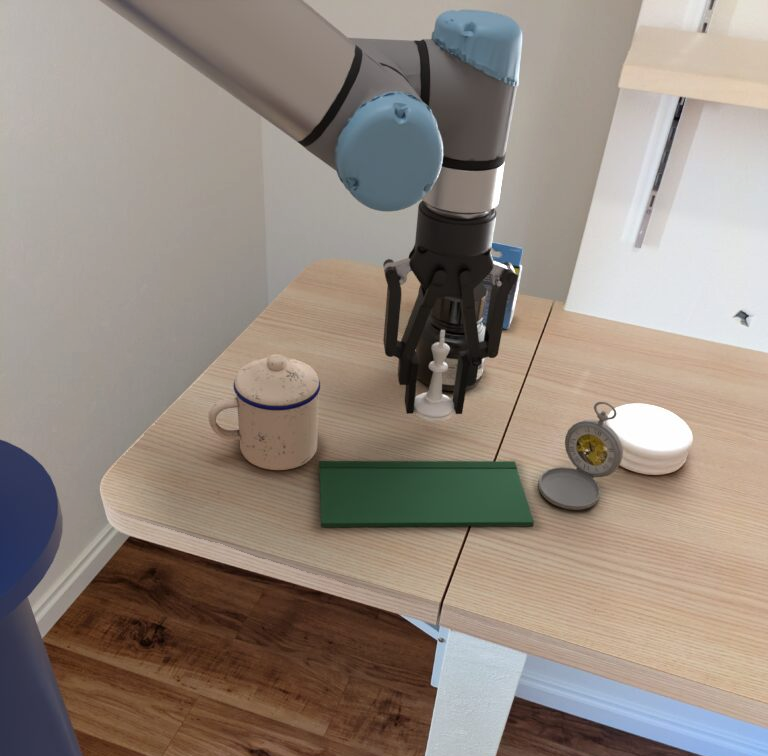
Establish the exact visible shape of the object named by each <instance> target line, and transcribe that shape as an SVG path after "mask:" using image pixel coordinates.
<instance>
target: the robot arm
mask: <svg viewBox="0 0 768 756" xmlns="http://www.w3.org/2000/svg"><path fill="white" fill-rule="evenodd" d="M98 1H100V2H101V4H104V5H105V6H106V7H108V8H109V9H110V10H112V11H113V12H115V13H116V14H117V15H119V16H120V17H122V19H124V20H126V21H127V22H129V23H130V24H132V25H133V26H134V27H136V28H137V29H139V30H140V31H141V32H143V33H144V34H146V35H147V36H148V37H149V38H151V39H153V40H154V41H156V42H157V43H158V44H160V45H161V46H162V47H164V48H165V49H167V50H168V51H169V52H171V53H172V54H173V55H175V56H176V57H178V58H179V59H181V60H182V61H183V62H184V63H186V64H187V65H189V66H190V67H192V68H193V69H195V71H197V72H199V73H200V74H202V75H203V76H204V77H206V78H207V79H208V80H210V81H211V82H213V83H214V84H215V85H217V86H218V87H219V88H222V89H223V90H224V91H225V92H226V93H228V94H229V95H230V96H232V97H234V98H235V99H237V100H238V101H239V102H240V103H242V104H243V105H245V106H246V107H248V108H249V109H250V110H252V111H253V112H255V113H256V114H258V115H259V116H260V117H262V118H263V119H264V120H266V121H267V122H268V123H270V124H271V125H273V126H274V127H276V128H277V129H279V130H280V131H281V132H283V133H284V134H285V135H287V136H288V137H290V138H291V139H293V140H294V141H295V142H296V143H298V144H299V145H300V146H302V147H303V148H304V149H306V151H308V152H309V153H310V154H312V155H313V156H315V157H316V158H318V159H319V160H320V161H321V162H323V163H324V164H325V165H327V166H329V167H330V168H331V169H333V170H334V171H336V175H337V177H338V179H339V181H340V182H341V183H342V184H343V186H344V188H345V189H346V190H347V191H348V192H349V194H350V195H351V196H352V197H353V198H354V199H355V200H357V202H359V203H360V204H362V205H363V206H365V207H367V208H369V209H371V210H375V211H379V212H398V211H401V210H406V209H408V208H410V207H412V206H414V205H415V204H417V203H418V207H417V216H416V217H417V219H416V227H415V229H416V230H415V240H414V245H413V247H412V249H411V251H410V252H409V254H408V257H407V258H403V259H399V260H396V261H394V259H391V258H388V259H385V260H384V261H383V264H382V265H383V266H382V267H383V272H384V277H385V281H386V284H387V289H386V301H385V312H384V313H385V314H384V325H383V326H384V328H383V339H382V342H383V348H384V354H385V356H386V357H389V358H393V357H395V358H397V359H398V362H397V363H398V364H397V380H398V383H399V386H405V390H404V405H405V413H406V414H407V415H409V414H410V415H413V414H414V412H413V411H414V402H415V397H416V391H417V383H418V377H417V374H418V359H417V354H416V348H417V345H418V343H419V340H420V337H421V335H422V332H423V330H424V327H425V325H426V322H427V319H428V317H429V314H430V312H431V309H432V308H433V307H434V305H435V303H436V300H437V298H445V297H452V298H456V299H460V303H461V310H462V318H463V325H464V333H465V340H466V348H467V353H466V352H463V351H459V357H458V364H457V371H456V378H455V385H454V391H452V392H453V393H452V398H451V400H452V401H453V403H454V414H455V415H463V412H464V405H465V399H466V392H467V391H466V390H467V389H466V386H473V387H474V386H475V385H474V384H475V383H476V378H477V372H478V366H480V365H481V364H482V359H483V358H485V359H486V358H489V359H495V358H496V357H498V355H499V351H500V346H501V345H500V344H501V339H502V334H503V329H504V328H503V322H504V316H505V310H506V304H507V298H508V294H509V292H510V290H511V289H512V287H513V285H514V283H515V281H516V279H517V275H516V273H515V271H514V268H513V266H512V264H511V263H510V262H505V263H503V264H501V263H499V262H496V261H494V260H493V258H492V256H493V255H492V249H491V247H492V242H494V234H495V228H496V221H497V215H498V213H497V210H496V208H497V206H498V205H499V202H500V197H501V189H502V183H503V175H504V169H505V163H506V162H505V161H506V153H507V147H508V140H509V134H510V130H511V124H512V118H513V113H514V106H515V101H516V95H517V91H518V87H519V85H520V69H521V60H522V51H523V50H522V48H523V47H522V46H523V31H522V28H521V26H520V24H519V23H518V22H517V21H516V20H514V19H513V18H512V17H510V16H508V15H505V14H502V13H498V12H493V11H489V10H488V11H487V10H480V9H460V10H453V9H452V10H446V11H443V12H441V13H440V14H439V15H438V16H437V17H436V19H435V23H434V29H433V31H432V32H431V38H423V39H420V40H408V39H407V40H406V39H405V40H403V39H386V38H385V39H384V38H361V37H348V36H346V34H344V33H343V32H342V31H340V30H339V28H337V27H336V26H334V25H333V24H332V23H331V22H329V20H327V19H326V18H325V17H324V16H323V15H321V14H320V13H319V12H318V11H316V10H315V9H314V8H313V7H312V6H310V4H308V3H307V2H306V1H304V0H98ZM410 272H412V273H413V274H414V276H415V278H416V279H417V281H418V282H419V284H420V285H419V288H418V291H417V292H418V294H417V296H416V300H415V302H414V304H413V308H412V310H411V313H410V316H409V318H408V321H407V323H406V326H405V329H404V332H403V334H402V337H401V340H398V339H399V329H400V328H399V326H400V316H401V315H400V314H401V306H402V305H401V304H402V285H404V284H405V283H406V282H407V280H408V274H409V273H410ZM489 273H491V281H492V283H493V284H492V289H491V296H490V302H489V309H488V315H487V322H486V324H485V326H486V328H485V335H484V341H482V342H479V337H478V329H477V320H476V312H475V300H474V291H473V290H474V289H475V288H476V287H477V286H478V285H479V284H480V283H481V282H482V281H483V280H484V279H485V277H486V276H487V275H488V274H489Z"/></svg>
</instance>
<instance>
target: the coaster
mask: <svg viewBox="0 0 768 756" xmlns="http://www.w3.org/2000/svg"><path fill="white" fill-rule="evenodd" d="M614 408H615V410H616V413H617V414H616V417H615V418H614V419H611V420H607V421H604V424H606V425H608V426H609V427H610V428H611V429H612V430H613V431H614V432H615V433H616V434H617V436H618V438H619V440H620V441H621V445H622V449H623V457H622V460H621V463H620V465H619V467H622V468H624V469H626V470H628V471H631V472H634V473H638V474H642V475H649V476H661V475H667V474H671V473H674V472H676V471H678V470H679V469H680V468H681V467H683V465H684V464H686V463H685V462H686V461H687V457H688V455H689V453H690V449H691V448H692V446H693V442H694V436H693V432H692V430H691V428H690V427H689V425H688V424H687V423H686V422H685V421H684V420H683V419H682V418H681V417H680V416H678V415H677V414H675V413H674V412H672V411H670V410H668V409H665V408H663V407H659V406H656V405H653V404H647V403H627V404H623V405H619V406H617V407H614ZM613 415H614V411H613V409H612V410H611V411H610V412H609V413H608V414H607V416H608V417H612V416H613ZM604 448H605V449H606V447H603V450H605V449H604ZM606 451H607V449H606Z"/></svg>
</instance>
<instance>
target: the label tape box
mask: <svg viewBox="0 0 768 756" xmlns="http://www.w3.org/2000/svg"><path fill="white" fill-rule="evenodd" d="M491 251H493V252H496V253H499V256H497V255H492V258H493V260H494V261H496V262H499V263H501V264H503V263H505V262H510V263H511V264H512V266H513V268H514V271H515V273H516V275H517V279H516V281H515V283H514V285H513V287H512V289H511V290H510V292H509V294H508V298H507V304H506V310H505V316H504V322H503V328H502V329H505V330H509V329H510V327H511V323H512V321H513V318H514V314H515V309H516V304H517V298H518V294H519V288H520V281H521V276H522V271H523V265H522V264H521V262H522V257H523V251H524V248H523V247H520V246H513V245H509V244H504V243H499V242H494V241H492V247H491ZM481 284H483V285H484V286H485V288H486V289H487V298H486V304H485V310H484V316H483V320H482V322H483V323H484V324H485V325H486V322H487V315H488V309H489V302H490V296H491V289H492V284H493V283H492V281H491V273H489V274H488V275H487V276H486V277H485V279H484V280H483V281H482V282H481Z"/></svg>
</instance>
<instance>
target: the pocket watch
mask: <svg viewBox="0 0 768 756" xmlns="http://www.w3.org/2000/svg"><path fill="white" fill-rule="evenodd" d="M599 405H606V406H608V407H609V408H611V409H612V410H613V411H614V415H613V416H612V417H608V414H607V411H606V410H601V412H599V411H598V408H597V407H598V406H599ZM615 408H616V407H614V406H613V405H612V404H610V403H609V402H606V401H598V402H596V403H594V405H593V410H594V413H595V414H596V417H597V419H598V420H597V419H583V420H580V421H577V422H576V423H574V424H572V425H571V427H569V429H568V430H567V432H566V435H565V437H564V447H565V452H566V454H567V456H568V459H569V461H570V462H571V463H572V464H573V466H574V467H575V468H574V467H567V466H558V467H557V466H556V467H553V468H549V469H546V470H545V471H544V472H543V473H541V475H540V477H539V479H538V490H539V492H540V494H541V495H542V497H543V498H545V500H547V502H550V503H551V504H553V505H554V506H556V507H559V508H562V509H564V510H571V511H572V510H573V511H576V510H577V511H578V510H579V511H580V510H584V509H589V508H591V507H592V506H594V505H595V504H597V502H598V501H599V499H600V496H601V487H600V485H599V484H598V482H597V481H596V479H594V478H604V477H608V476H610V475H612V474H613V473H614V472H615V471H616V470H617V469H618V468H619V467H620V463H621V460H622V457H623V449H622V445H621V441H620V440H619V438H618V436H617V434H616V433H615V432H614V431H613V430H612V429H611V428H610V427H609V426H608V425H606V424H605V421H607V420H611V419H614V418H615V417H616V414H617V413H616V410H615ZM603 447H606V449H607V451H606V449H605V448H604V449H605V450H603ZM604 457H606V459H605V458H604Z"/></svg>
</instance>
